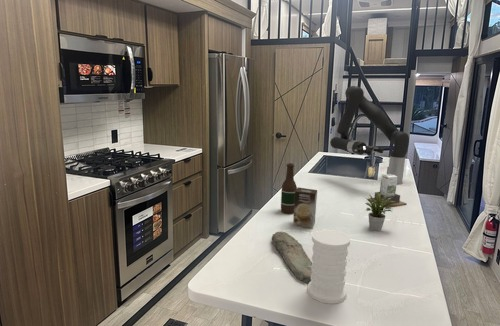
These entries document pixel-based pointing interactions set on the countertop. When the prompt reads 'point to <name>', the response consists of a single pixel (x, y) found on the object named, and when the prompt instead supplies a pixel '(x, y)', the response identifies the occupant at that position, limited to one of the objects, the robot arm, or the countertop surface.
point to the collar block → (395, 199)
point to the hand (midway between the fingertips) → (376, 152)
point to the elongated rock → (293, 255)
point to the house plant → (377, 212)
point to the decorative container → (329, 266)
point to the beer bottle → (288, 191)
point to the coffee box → (305, 207)
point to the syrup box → (388, 185)
